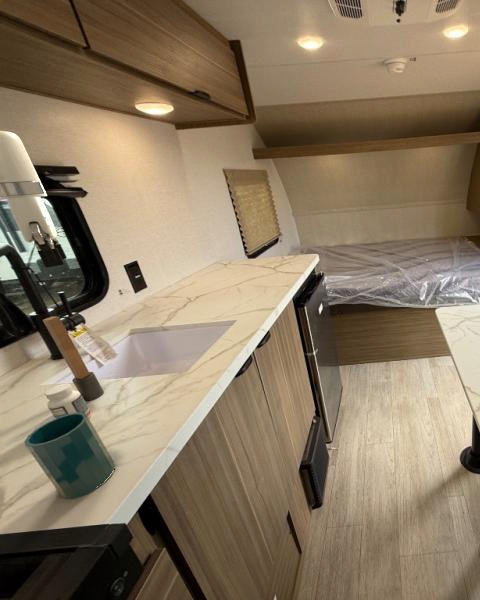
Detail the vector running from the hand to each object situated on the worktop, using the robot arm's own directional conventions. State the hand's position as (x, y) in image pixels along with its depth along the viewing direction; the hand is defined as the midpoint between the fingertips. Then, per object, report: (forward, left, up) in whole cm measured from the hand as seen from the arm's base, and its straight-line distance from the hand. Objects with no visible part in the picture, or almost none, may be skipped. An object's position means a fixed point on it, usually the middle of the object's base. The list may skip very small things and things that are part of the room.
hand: (57, 262), depth 80 cm
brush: (+9, -10, -32) cm, 35 cm away
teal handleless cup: (+36, -29, -32) cm, 56 cm away
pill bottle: (+15, -18, -32) cm, 40 cm away
